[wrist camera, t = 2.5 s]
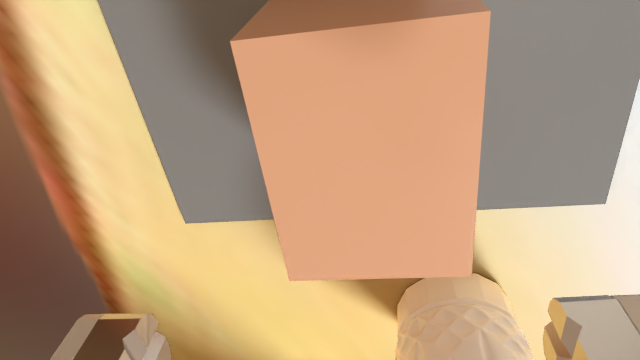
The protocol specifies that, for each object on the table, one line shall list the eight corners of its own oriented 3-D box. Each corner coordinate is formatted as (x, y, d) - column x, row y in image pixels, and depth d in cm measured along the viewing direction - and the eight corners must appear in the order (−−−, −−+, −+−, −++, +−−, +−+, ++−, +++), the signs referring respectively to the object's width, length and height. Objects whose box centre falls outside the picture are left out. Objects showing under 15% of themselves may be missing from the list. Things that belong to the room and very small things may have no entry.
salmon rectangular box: (448, -32, 16) (491, 10, 10) (444, 170, 21) (471, 276, 15) (277, -9, 17) (229, 41, 11) (311, 178, 22) (289, 280, 16)
